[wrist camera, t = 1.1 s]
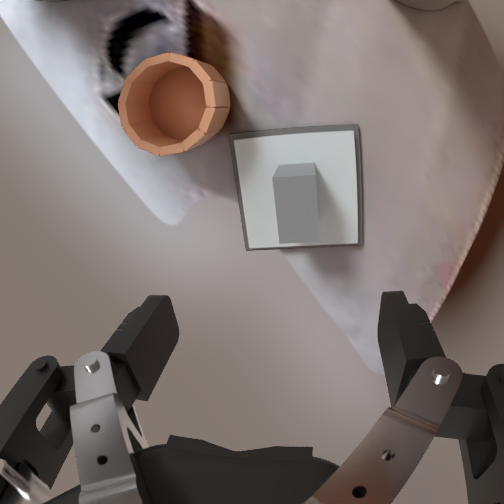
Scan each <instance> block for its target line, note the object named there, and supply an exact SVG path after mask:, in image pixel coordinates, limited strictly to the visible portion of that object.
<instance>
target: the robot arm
mask: <svg viewBox="0 0 504 504" xmlns="http://www.w3.org/2000/svg"><path fill="white" fill-rule="evenodd" d="M397 1H399V2H401V3H403V4H405V5H407V6H410V7H413V8H417V9H421V10H439V9H442V8H445V7H447V6H448V5H450V4H451V3H453V2H460V3H463V2H465V1H467V0H397ZM178 338H179V327H178V324H177V320H176V317H175V313H174V310H173V306H172V303H171V299H170V298H169V296H167V295H150V296H148V297H147V299H146V300H145V301H144V303H143V304H142V305H141V306H140V307H137V308H136V309H135V310H133V311H132V312H130V313H129V314H128V315H127V317H126V318H125V319H124V320H123V322H122V324H120V326H119V327H118V328H117V330H116V331H115V332H114V333H113V335H112V336H111V338H110V339H109V340H108V342H107V343H106V344H105V346H104V347H103V348H102V350H101V351H94V352H90V353H87V354H85V355H84V356H82V357H81V358H79V360H77V362H76V363H75V365H74V366H62V367H60V365H59V363H58V362H57V360H56V358H55V357H53V356H43V357H40V358H38V359H36V360H35V361H34V362H32V363H31V365H30V366H29V367H28V368H27V370H26V371H25V372H24V373H23V375H22V376H21V377H20V379H19V380H18V381H17V383H16V384H15V385H14V387H13V388H12V389H11V391H10V392H9V394H8V395H7V396H6V398H5V399H4V401H3V402H2V403H1V405H0V504H391V503H392V502H393V501H394V499H395V498H396V496H397V495H398V494H399V492H400V491H401V489H402V488H403V486H404V485H405V483H406V482H407V481H408V479H409V478H410V476H411V474H412V473H413V471H414V470H415V468H416V467H417V465H418V463H419V462H420V460H421V459H422V457H423V455H424V454H425V452H426V450H427V449H428V447H429V445H430V443H431V442H432V440H433V438H434V436H436V437H444V438H453V439H459V444H460V450H461V455H462V460H463V467H464V472H465V479H466V486H467V495H468V503H469V504H504V364H498V365H495V366H493V367H492V368H491V369H490V370H489V371H488V374H487V375H486V376H481V375H472V374H465V373H462V370H461V368H460V366H459V365H458V364H457V363H456V362H454V361H453V360H451V359H449V358H446V356H445V354H444V352H443V349H442V347H441V345H440V343H439V340H438V338H437V336H436V333H435V331H433V327H432V324H431V323H430V320H429V318H428V316H427V314H426V311H424V310H423V309H422V308H421V307H420V306H419V305H417V304H409V303H408V301H407V299H406V296H405V294H404V292H403V291H391V292H383V293H382V296H381V305H380V313H379V321H378V344H379V348H380V353H381V357H382V362H383V366H384V371H385V376H386V381H387V386H388V391H389V397H390V402H391V408H390V407H389V408H388V409H387V410H386V411H385V412H384V413H383V414H382V416H381V417H380V418H379V420H378V421H377V422H376V424H375V425H374V426H373V427H372V429H371V430H370V431H369V433H368V434H367V435H366V436H365V438H364V439H363V440H362V441H361V442H360V444H359V445H358V446H357V447H356V448H355V450H354V451H353V452H352V453H351V455H349V457H348V458H347V459H346V460H345V461H344V462H343V464H342V465H341V466H338V465H336V464H334V463H332V462H330V461H327V460H324V459H321V458H317V457H313V456H312V450H313V447H281V446H279V447H278V446H275V447H269V448H262V449H255V450H247V451H232V450H229V449H226V448H223V447H220V446H217V445H215V444H212V443H208V442H206V441H204V440H199V439H192V438H186V437H179V436H174V435H170V437H169V439H168V442H167V444H162V445H155V446H152V447H149V446H148V444H147V442H146V439H145V436H144V433H143V430H142V427H141V424H140V421H139V418H138V415H137V412H136V409H135V407H134V405H133V403H134V401H135V400H136V399H138V400H144V401H148V399H149V397H150V395H151V393H152V391H153V389H154V387H155V385H156V383H157V381H158V379H159V377H160V375H161V373H162V371H163V369H164V367H165V365H166V363H167V362H168V360H169V358H170V355H171V354H172V352H173V350H174V348H175V346H176V344H177V342H178ZM46 403H47V405H48V406H49V407H50V408H51V410H52V412H51V414H50V415H49V417H48V419H47V420H46V422H45V424H44V425H43V427H42V429H41V430H40V432H39V431H38V429H37V427H36V418H37V416H38V414H39V413H40V411H41V410H42V408H43V406H44V405H45V404H46ZM73 443H74V450H75V457H76V463H77V469H78V474H79V480H80V485H78V486H76V487H74V488H72V489H70V490H68V491H67V492H64V493H63V494H61V495H59V496H57V497H55V498H53V499H50V497H51V494H50V490H51V488H52V486H53V484H54V481H55V479H56V477H57V475H58V473H59V471H60V469H61V467H62V465H63V463H64V461H65V459H66V457H67V455H68V453H69V451H70V449H71V447H72V445H73Z"/></svg>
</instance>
